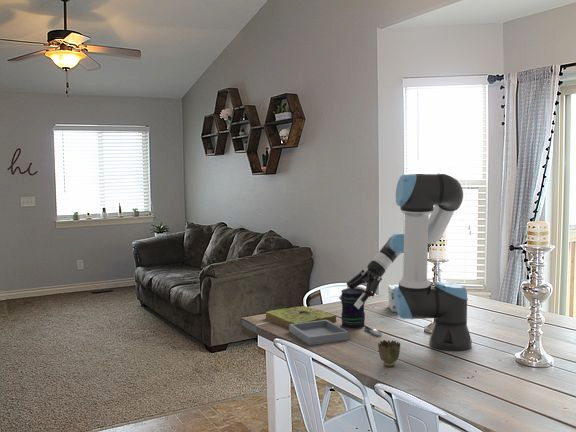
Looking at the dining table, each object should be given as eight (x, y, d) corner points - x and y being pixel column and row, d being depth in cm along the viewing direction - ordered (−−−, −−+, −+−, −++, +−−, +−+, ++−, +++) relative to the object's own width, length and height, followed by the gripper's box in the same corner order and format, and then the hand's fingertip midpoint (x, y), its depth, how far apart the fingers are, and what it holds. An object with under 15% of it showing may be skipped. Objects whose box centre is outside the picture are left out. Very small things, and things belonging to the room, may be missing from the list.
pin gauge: (382, 332, 232) (378, 331, 231) (380, 337, 232) (376, 336, 231) (369, 326, 241) (365, 325, 240) (368, 330, 241) (364, 329, 240)
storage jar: (363, 322, 252) (362, 288, 251) (366, 328, 242) (366, 293, 241) (340, 322, 252) (339, 288, 251) (342, 329, 242) (342, 293, 241)
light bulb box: (406, 312, 269) (406, 288, 268) (391, 312, 269) (391, 289, 268) (402, 306, 279) (402, 284, 278) (388, 306, 279) (387, 284, 278)
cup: (385, 360, 202) (385, 338, 202) (404, 365, 198) (404, 342, 197) (374, 366, 197) (373, 343, 196) (393, 371, 192) (393, 347, 191)
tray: (349, 339, 227) (349, 331, 227) (309, 345, 221) (309, 337, 221) (326, 326, 246) (326, 319, 246) (289, 331, 239) (289, 324, 239)
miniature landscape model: (304, 312, 273) (304, 301, 273) (336, 323, 254) (336, 311, 253) (265, 319, 261) (265, 308, 260) (295, 331, 241) (295, 320, 241)
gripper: (400, 275, 240) (368, 315, 235) (369, 266, 263) (340, 302, 258) (389, 264, 237) (357, 304, 233) (359, 255, 260) (329, 292, 256)
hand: (348, 303), depth 246 cm, fingers open, 13 cm apart
